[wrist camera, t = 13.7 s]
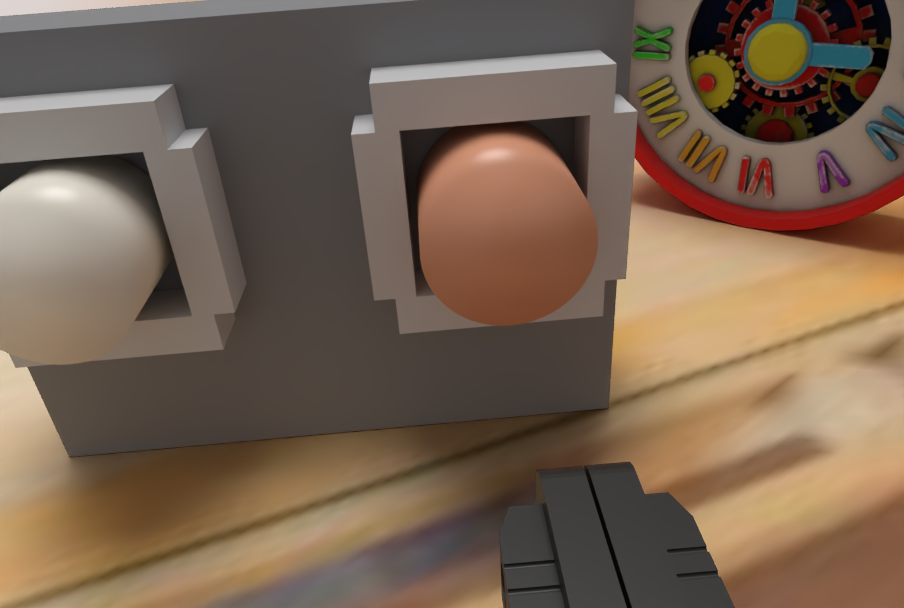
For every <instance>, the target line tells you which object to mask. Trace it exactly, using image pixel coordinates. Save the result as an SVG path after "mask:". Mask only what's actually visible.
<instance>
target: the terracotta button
mask: <svg viewBox="0 0 904 608" xmlns="http://www.w3.org/2000/svg"><path fill="white" fill-rule="evenodd" d="M417 208H418V228H419V248H420V261H421V266H422V270H423V273H424V276H425V279H426V281H427V283H428V285H429V287H430V288H431V290H432V291H433V293H434V294H435V296H436V297H437V298H438V299H439V300H440V301H441V302H442V303H443V304H444V305H445V306H447V307H448V308H449V309H450V310H452V311H453V312H455V313H457V314H458V315H460V316H462V317H464V318H466V319H469V320H472V321H475V322H478V323H482V324H487V325H497V326H509V325H518V324H524V323H527V322H531V321H534V320H537V319H540V318H542V317H545V316H547V315H549V314H551V313H553V312H554V311H556V310H557V309H559V308H560V307H562V306H563V305H564V304H566V303H567V302H568V301H569V300H570V299H571V298H572V297H573V296H574V295H575V294H576V293H577V292H578V291H579V290H580V288H581V287H582V286H583V284H584V283H585V282H586V280H587V278H588V276H589V275H590V273H591V270H592V268H593V265H594V263H595V259H596V255H597V250H598V228H597V223H596V219H595V216H594V213H593V210H592V209H591V207H590V205H589V203H588V201H587V199H586V197H585V196H584V194H583V192H582V191H581V189H580V187H579V186H578V184H577V182H576V181H575V179H574V177H573V176H572V174H571V172H570V171H569V169H568V167H567V166H566V164H565V162H564V161H563V159H562V157H561V156H560V154H559V152H558V151H557V149H556V147H555V146H554V145H553V143H552V142H551V141H550V140H549V138H548V137H547V136H546V135H545V134H544V133H542V132H541V131H540V130H538V129H537V128H536V127H534V126H532V125H530V124H529V123H526V122H524V121H513V122H501V123H489V124H476V125H464V126H455V127H454V128H452V129H450V130H449V131H448V132H446V133H445V134H444V135H442V136H441V137H440V138H439V139H438V140H437V141H436V142H435V143H434V145H433V146H432V147H431V149H430V150H429V151H428V153H427V155H426V157H425V158H424V160H423V163H422V165H421V168H420V171H419V175H418V180H417Z"/></svg>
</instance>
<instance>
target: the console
mask: <svg viewBox="0 0 904 608" xmlns="http://www.w3.org/2000/svg"><path fill="white" fill-rule="evenodd" d="M634 7H635V0H207V1H194V2H181V3H167V4H154V5H143V6H129V7H116V8H103V9H91V10H79V11H78V10H77V11H65V12H52V13H39V14H27V15H13V16H0V191H2V190H3V189H4V188H6V187H7V186H8V185H10V184H11V183H12V182H14V181H15V180H16V179H18V178H19V177H20V176H21V175H23V174H24V173H25V172H27V171H28V170H29V169H31V168H32V167H33V166H35V165H36V164H37V163H39V162H40V161H42V160H49V159H61V158H73V157H86V156H98V155H113V156H116V157H119V158H121V159H123V160H125V161H127V162H129V163H131V164H132V165H134V166H136V167H137V168H139V169H140V170H142V171H143V172H144V173H146V174H147V175H148V176H149V177H150V178H151V180H152V183H153V187H154V190H155V193H156V197H157V200H158V203H159V207H160V210H161V213H162V217H163V220H164V223H165V227H166V230H167V233H168V237H169V240H170V243H171V247H172V250H173V253H174V257H173V259H172V261H171V262H170V264H169V266H168V267H167V269H166V270H165V272H164V274H163V275H162V277H161V278H160V280H159V282H158V283H157V285H156V287H155V288H154V290H153V291H152V293H151V295H150V296H149V298H148V299H147V301H146V303H145V304H144V306H143V308H142V309H141V311H140V312H139V314H138V316H137V317H136V319H135V320H134V322H133V324H132V325H131V327H130V329H129V330H128V332H127V333H126V335H125V336H124V338H123V339H122V340H121V341H120V343H119V344H118V345H117V346H115V347H114V348H113V349H112V350H110V351H109V352H107V353H106V354H104V355H102V356H100V357H98V358H95V359H93V360H90V361H86V362H82V363H76V364H66V365H55V364H44V363H38V362H33V361H29V360H26V359H22V358H19V357H17V356H14V355H11V354H9V355H10V357H11V359H12V361H13V363H14V365H15V367H16V368H19V367H28V369H29V371H30V373H31V376H32V378H33V380H34V382H35V384H36V386H37V388H38V391H39V393H40V395H41V397H42V399H43V401H44V404H45V406H46V408H47V410H48V412H49V414H50V417H51V419H52V421H53V423H54V425H55V427H56V430H57V432H58V434H59V436H60V438H61V440H62V442H63V445H64V447H65V449H66V451H67V453H68V455H69V457H75V456H86V455H97V454H108V453H119V452H130V451H141V450H152V449H163V448H174V447H185V446H196V445H207V444H218V443H229V442H240V441H251V440H262V439H273V438H284V437H295V436H306V435H317V434H328V433H339V432H350V431H362V430H373V429H384V428H395V427H406V426H417V425H428V424H439V423H450V422H461V421H472V420H483V419H494V418H505V417H516V416H527V415H538V414H549V413H560V412H571V411H582V410H593V409H604V408H609V392H610V377H611V362H612V346H613V331H614V315H615V300H616V285H617V279H626V268H627V254H628V240H629V226H630V213H631V199H632V185H633V171H634V157H635V144H636V130H637V116H638V111H637V110H636V109H635V108H634V107H633V106H632V105H631V104H630V103H628V100H629V84H630V69H631V53H632V38H633V23H634ZM513 121H524V122H526V123H529V124H530V125H532V126H534V127H536V128H537V129H538V130H540V131H541V132H542V133H544V134H545V135H546V136H547V137H548V138H549V140H550V141H551V142H552V143H553V145H554V146H555V147H556V149H557V151H558V152H559V154H560V156H561V157H562V159H563V161H564V162H565V164H566V166H567V167H568V169H569V171H570V172H571V174H572V176H573V177H574V179H575V181H576V182H577V184H578V186H579V187H580V189H581V191H582V192H583V194H584V196H585V197H586V199H587V201H588V203H589V205H590V207H591V209H592V210H593V213H594V216H595V219H596V223H597V228H598V250H597V255H596V259H595V263H594V265H593V268H592V270H591V273H590V275H589V276H588V278H587V280H586V282H585V283H584V284H583V286H582V287H581V288H580V290H579V291H578V292H577V293H576V294H575V295H574V296H573V297H572V298H571V299H570V300H569V301H568V302H567V303H566V304H564V305H563V306H562V307H560V308H559V309H557V310H556V311H554V312H553V313H551V314H549V315H547V316H545V317H542V318H540V319H537V320H534V321H531V322H527V323H524V324H518V325H509V326H497V325H487V324H482V323H478V322H475V321H472V320H469V319H466V318H464V317H462V316H460V315H458V314H457V313H455V312H453V311H452V310H450V309H449V308H448V307H447V306H445V305H444V304H443V303H442V302H441V301H440V300H439V299H438V298H437V297H436V296H435V294H434V293H433V291H432V290H431V288H430V287H429V285H428V283H427V281H426V279H425V276H424V273H423V270H422V266H421V261H420V248H419V228H418V208H417V180H418V175H419V171H420V168H421V165H422V163H423V160H424V158H425V157H426V155H427V153H428V151H429V150H430V149H431V147H432V146H433V145H434V143H435V142H436V141H437V140H438V139H439V138H440V137H441V136H442V135H444V134H445V133H446V132H448V131H449V130H450V129H452V128H454V127H455V126H464V125H476V124H489V123H501V122H513Z"/></svg>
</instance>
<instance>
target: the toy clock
mask: <svg viewBox="0 0 904 608" xmlns="http://www.w3.org/2000/svg"><path fill="white" fill-rule="evenodd" d="M628 103H630V104H631V105H632V106H633V107H634V108H635V109H636V110H637V111H638V116H637V130H636V144H635V159H636V160H637V161H638V162H639V164H640V165H641V166H642V168H643V169H644V170H645V171H646V173H647V174H648V175H650V176H651V177H652V178H653V179H654V180H655V181H656V182H657V183H658V184H659V185H660V186H661V187H662V188H663V189H665V190H666V191H667V192H668V193H670V194H671V195H673V196H674V197H676V198H677V199H679V200H680V201H682V202H683V203H685V204H686V205H688V206H689V207H691V208H693V209H695V210H698V211H700V212H702V213H704V214H706V215H708V216H711V217H713V218H715V219H718V220H722V221H725V222H729V223H732V224H736V225H739V226H743V227H750V228H758V229H766V230H774V231H779V230H805V229H812V228H818V227H823V226H829V225H834V224H839V223H842V222H845V221H848V220H851V219H854V218H857V217H860V216H863V215H865V214H868V213H871V212H874V211H875V210H877V209H879V208H881V207H883V206H885V205H887V204H889V203H891V202H892V201H894V200H896V199H898V198H900V197H902V196H904V0H635V7H634V23H633V38H632V53H631V69H630V84H629V100H628Z"/></svg>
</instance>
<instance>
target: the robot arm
mask: <svg viewBox="0 0 904 608" xmlns="http://www.w3.org/2000/svg"><path fill="white" fill-rule="evenodd" d="M500 560H501V585H502V600H503V608H735V607H734V605H733V603H732V601H731V599H730V596H729V594H728V592H727V590H726V588H725V585H724V583H723V581H722V579H721V577H719V576H718V570H717V568H716V566H715V564H714V561H713V559H712V557H711V555H710V553H709V552H707V549H706V544H705V542H704V540H703V538H702V535H701V533H700V531H699V529H698V527H697V524H696V522H695V520H694V518H693V516H692V515H691V514H690V513H689V512H688V511H687V510H686V509H685V508H684V507H683V506H682V505H681V504H680V503H678V502H677V501H676V500H675V499H674V498H673V497H672V496H671V495H670V494H669V493H668V492H667V493H656V494H644V491H643V489H642V486H641V484H640V481H639V479H638V476H637V474H636V471H635V469H634V467H633V465H632V464H631V463H630V462H621V463H610V464H598V465H586V466H584V467H582V466H577V467H566V468H554V469H542V470H537V471H536V504H531V505H520V506H509V508H508V511H507V513H506V516H505V519H504V522H503V525H502V528H501V531H500Z"/></svg>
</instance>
